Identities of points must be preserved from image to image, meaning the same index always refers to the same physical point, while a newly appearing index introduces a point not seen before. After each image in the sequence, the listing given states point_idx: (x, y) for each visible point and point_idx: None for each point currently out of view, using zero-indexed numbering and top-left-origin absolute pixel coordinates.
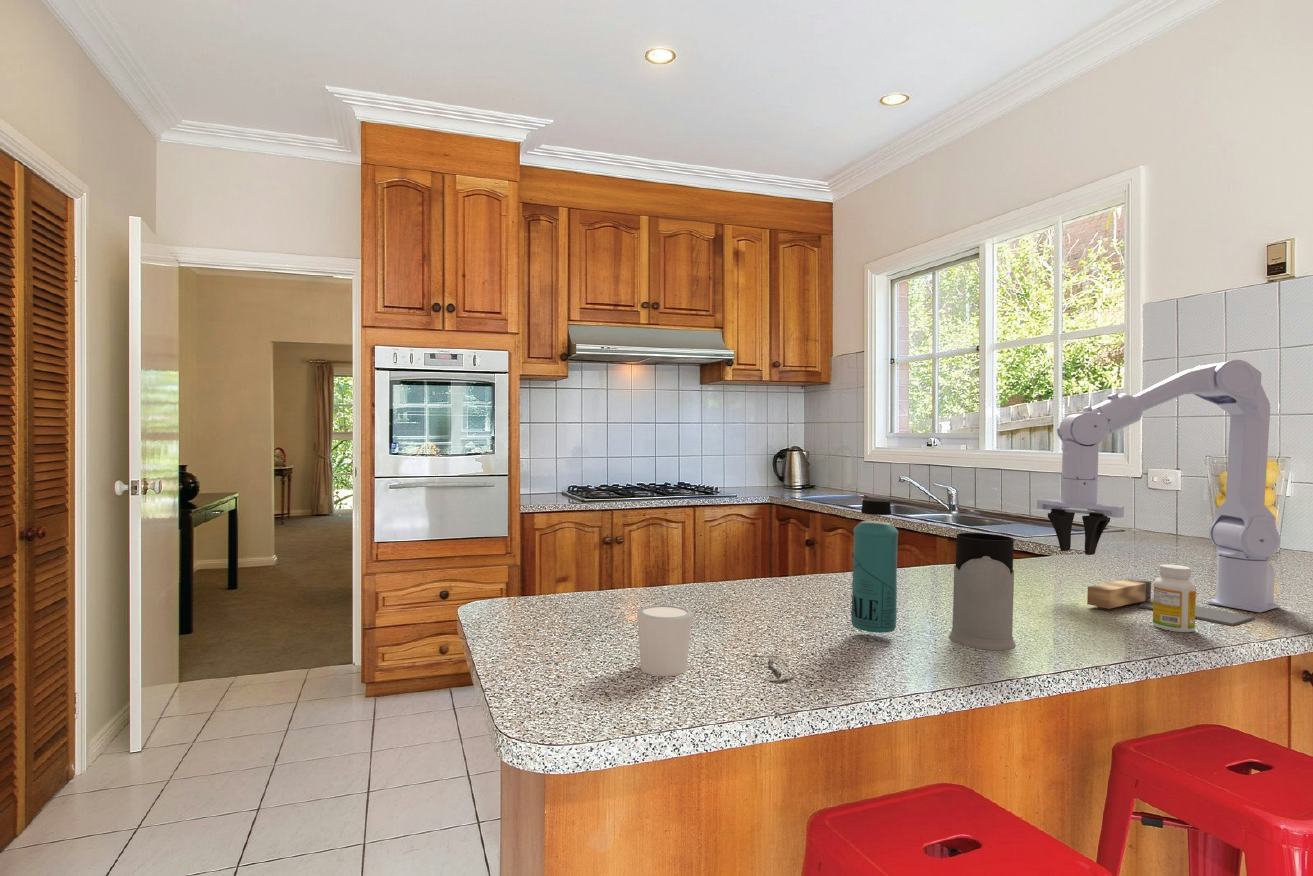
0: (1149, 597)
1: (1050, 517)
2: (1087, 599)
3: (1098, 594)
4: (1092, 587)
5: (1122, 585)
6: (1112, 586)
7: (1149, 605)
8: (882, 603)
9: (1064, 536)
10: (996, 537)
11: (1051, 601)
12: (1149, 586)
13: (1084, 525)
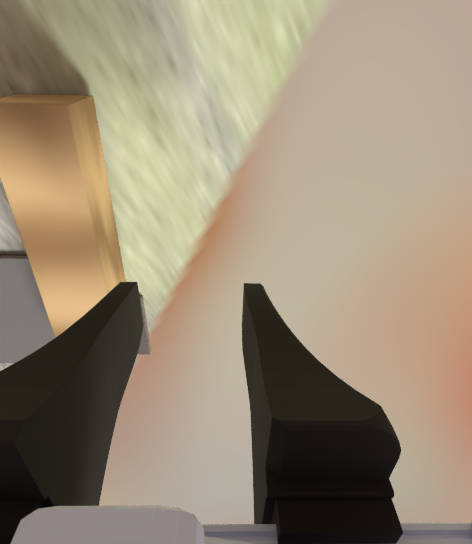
0: None
1: (354, 404)
2: (85, 97)
3: (31, 100)
4: (47, 106)
5: (48, 256)
6: (42, 205)
7: None
8: None
9: (252, 345)
10: None
11: (217, 76)
12: None
13: (58, 381)
